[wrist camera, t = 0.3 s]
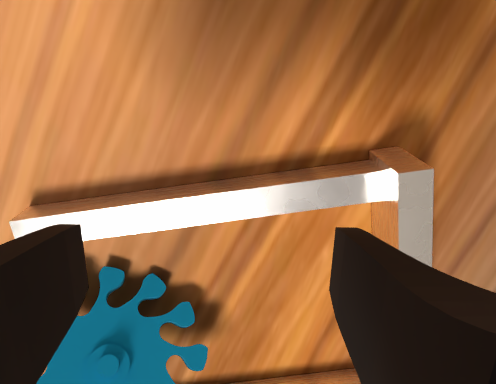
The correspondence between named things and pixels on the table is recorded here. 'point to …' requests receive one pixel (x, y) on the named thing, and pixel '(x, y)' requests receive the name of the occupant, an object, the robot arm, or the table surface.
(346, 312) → the robot arm
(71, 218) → the rail dock
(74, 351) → the gear
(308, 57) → the table surface
